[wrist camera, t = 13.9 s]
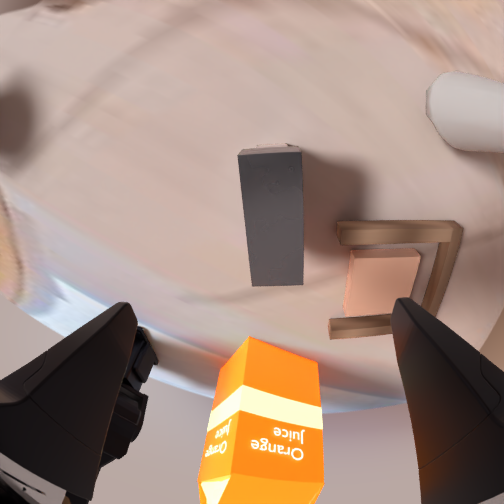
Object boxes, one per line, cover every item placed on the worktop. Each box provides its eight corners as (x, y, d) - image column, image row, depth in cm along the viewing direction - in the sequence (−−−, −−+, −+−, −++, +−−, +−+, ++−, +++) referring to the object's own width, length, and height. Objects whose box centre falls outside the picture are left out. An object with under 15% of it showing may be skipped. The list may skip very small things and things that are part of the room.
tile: (342, 303, 24) (345, 316, 23) (349, 247, 21) (354, 258, 20) (398, 299, 24) (404, 311, 22) (412, 246, 21) (420, 256, 19)
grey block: (258, 239, 21) (252, 286, 16) (249, 141, 17) (237, 155, 12) (297, 238, 21) (303, 284, 16) (293, 138, 17) (301, 151, 12)
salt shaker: (473, 143, 15) (593, 204, 4) (420, 146, 16) (553, 215, 5) (464, 75, 12) (592, 90, 1) (408, 70, 13) (549, 61, 2)
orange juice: (281, 391, 32) (272, 536, 14) (219, 370, 30) (186, 527, 13) (318, 361, 28) (325, 536, 11) (249, 334, 27) (220, 537, 9)
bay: (328, 327, 25) (330, 339, 24) (337, 221, 20) (341, 230, 18) (425, 317, 24) (430, 328, 22) (454, 220, 18) (463, 228, 17)
